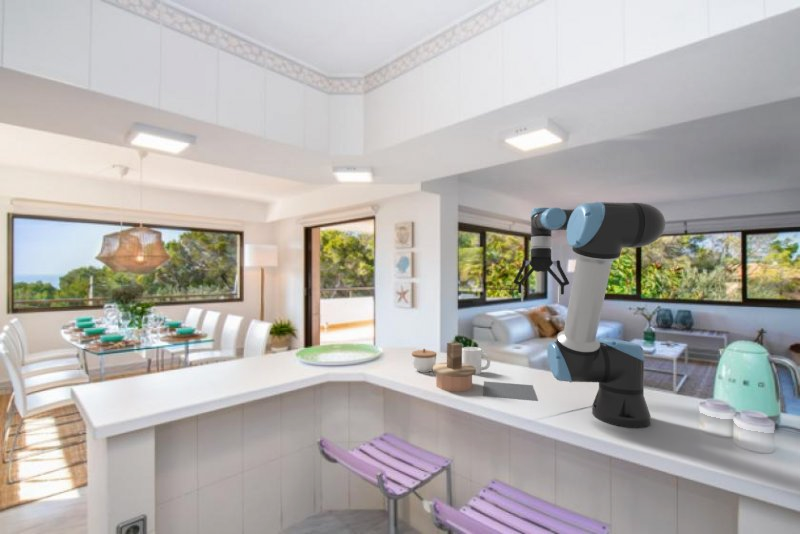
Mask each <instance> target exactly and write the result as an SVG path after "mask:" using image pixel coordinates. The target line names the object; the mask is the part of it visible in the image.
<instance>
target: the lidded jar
mask: <svg viewBox="0 0 800 534" xmlns="http://www.w3.org/2000/svg"><path fill="white" fill-rule="evenodd" d="M411 360H412V365H413V367H414V368H415V370H416V371H417V372H419V371H420V373H429V371H430V372H431V371H433V366H434V365H435V364H437V352H435V351H433V350H429V349H427V350H426V348H423V349H418V350H414V351H412V352H411Z"/></svg>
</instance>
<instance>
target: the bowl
mask: <svg viewBox="0 0 800 534" xmlns="http://www.w3.org/2000/svg"><path fill="white" fill-rule="evenodd" d="M435 374H436V376H435V382H436V383H435V386H436V387H437V388H439V389H440V390H442V391H443V390H444V391H448V392H464V391H465V392H466V391H469V390H471V389H472V388H473V375H471V376H466V377H451V376H444V375H440V374H437V373H435Z"/></svg>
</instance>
